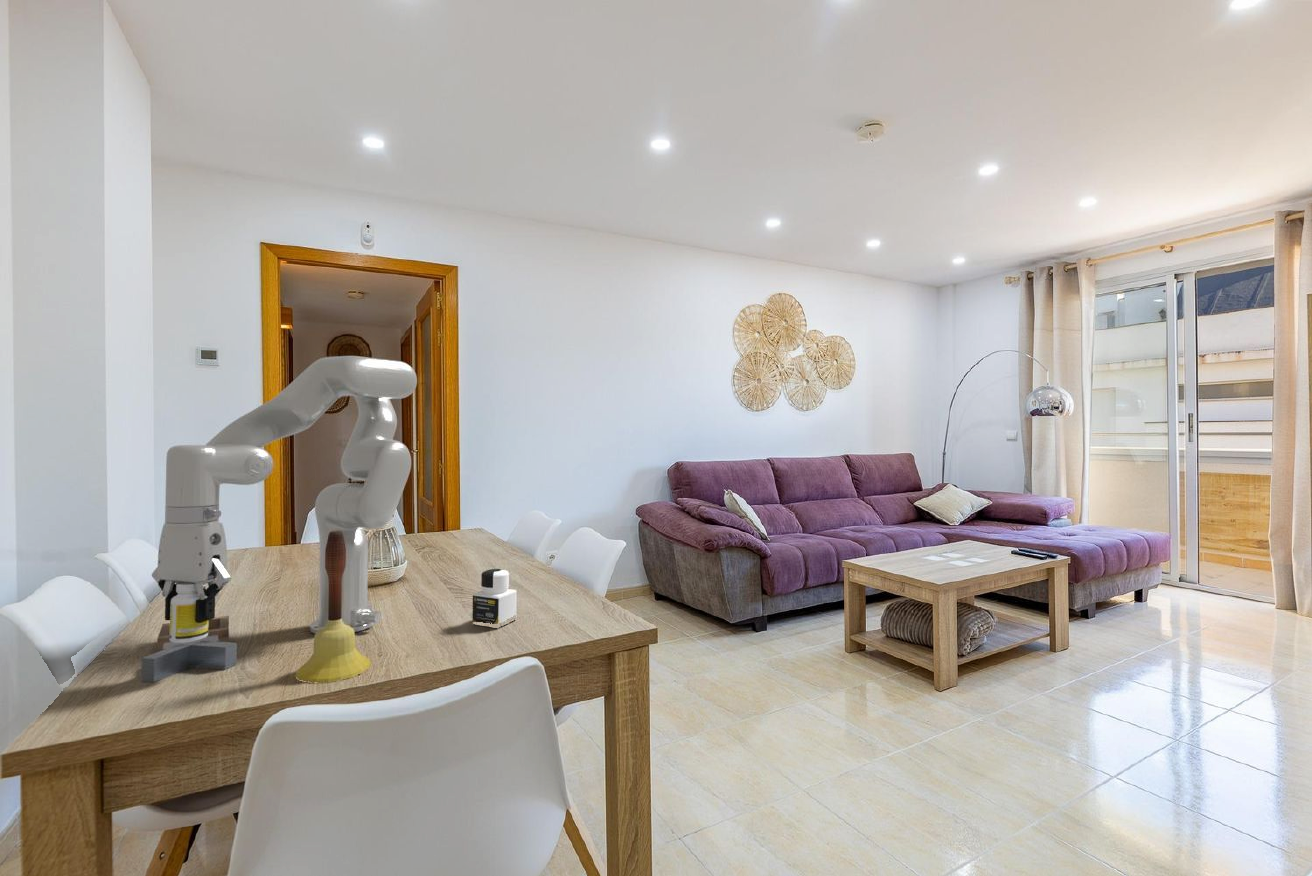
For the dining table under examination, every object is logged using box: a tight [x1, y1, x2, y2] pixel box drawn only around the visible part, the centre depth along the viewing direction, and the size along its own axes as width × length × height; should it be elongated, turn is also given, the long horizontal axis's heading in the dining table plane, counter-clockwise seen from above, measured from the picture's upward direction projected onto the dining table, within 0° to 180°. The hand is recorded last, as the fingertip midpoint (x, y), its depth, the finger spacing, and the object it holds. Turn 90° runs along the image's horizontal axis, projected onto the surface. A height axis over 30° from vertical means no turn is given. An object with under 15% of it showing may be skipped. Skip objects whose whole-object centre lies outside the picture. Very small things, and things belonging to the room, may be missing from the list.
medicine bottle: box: [471, 568, 518, 624], centre depth 139 cm, size 7×7×12 cm
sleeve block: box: [156, 615, 230, 653], centre depth 122 cm, size 11×11×4 cm
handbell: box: [294, 531, 372, 684], centre depth 110 cm, size 12×12×25 cm
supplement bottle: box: [169, 582, 209, 643], centre depth 106 cm, size 5×5×10 cm
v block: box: [141, 635, 238, 683], centre depth 110 cm, size 9×13×4 cm
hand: (189, 618), depth 106 cm, fingers closed on supplement bottle, 5 cm apart
